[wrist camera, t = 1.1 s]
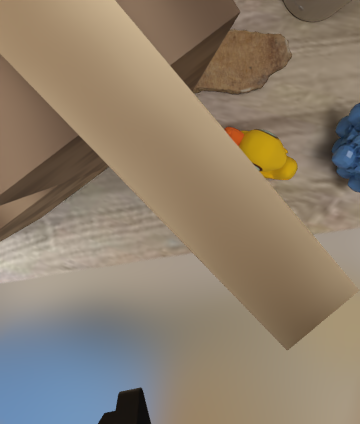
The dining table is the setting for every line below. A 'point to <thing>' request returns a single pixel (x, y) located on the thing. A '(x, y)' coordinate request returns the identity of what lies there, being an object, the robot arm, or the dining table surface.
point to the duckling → (264, 152)
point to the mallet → (174, 157)
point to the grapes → (348, 148)
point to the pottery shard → (244, 62)
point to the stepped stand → (65, 135)
